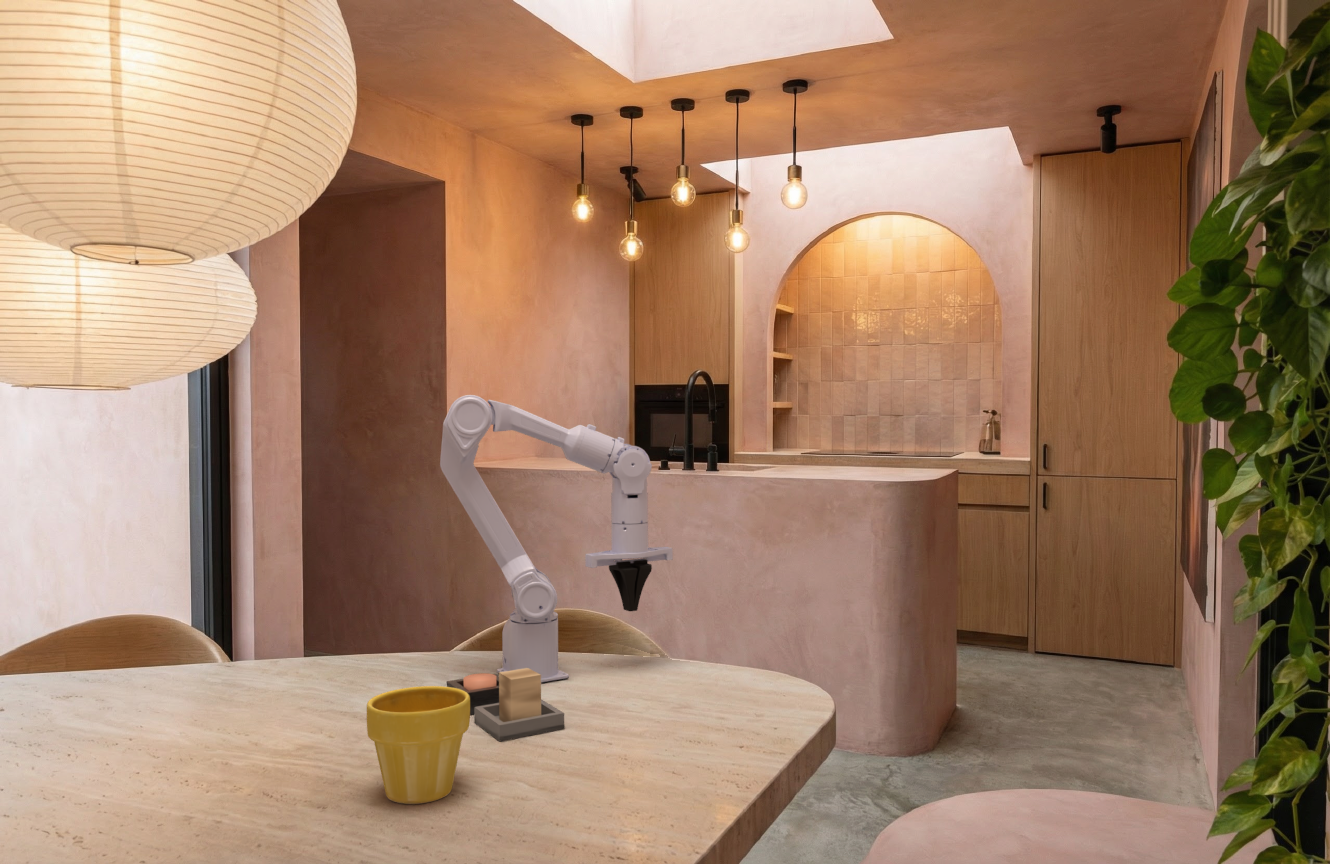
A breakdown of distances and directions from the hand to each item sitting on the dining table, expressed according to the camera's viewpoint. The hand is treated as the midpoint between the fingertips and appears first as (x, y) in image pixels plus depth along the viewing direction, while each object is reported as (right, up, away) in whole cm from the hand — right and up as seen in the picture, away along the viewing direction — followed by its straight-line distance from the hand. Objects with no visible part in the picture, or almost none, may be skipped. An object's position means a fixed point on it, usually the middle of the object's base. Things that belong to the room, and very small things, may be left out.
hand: (630, 609), depth 142 cm
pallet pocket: (-13, -10, -26) cm, 31 cm away
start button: (-20, -9, -17) cm, 28 cm away
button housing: (-20, -10, -17) cm, 28 cm away
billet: (-13, -9, -26) cm, 30 cm away
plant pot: (-20, -10, -47) cm, 52 cm away
